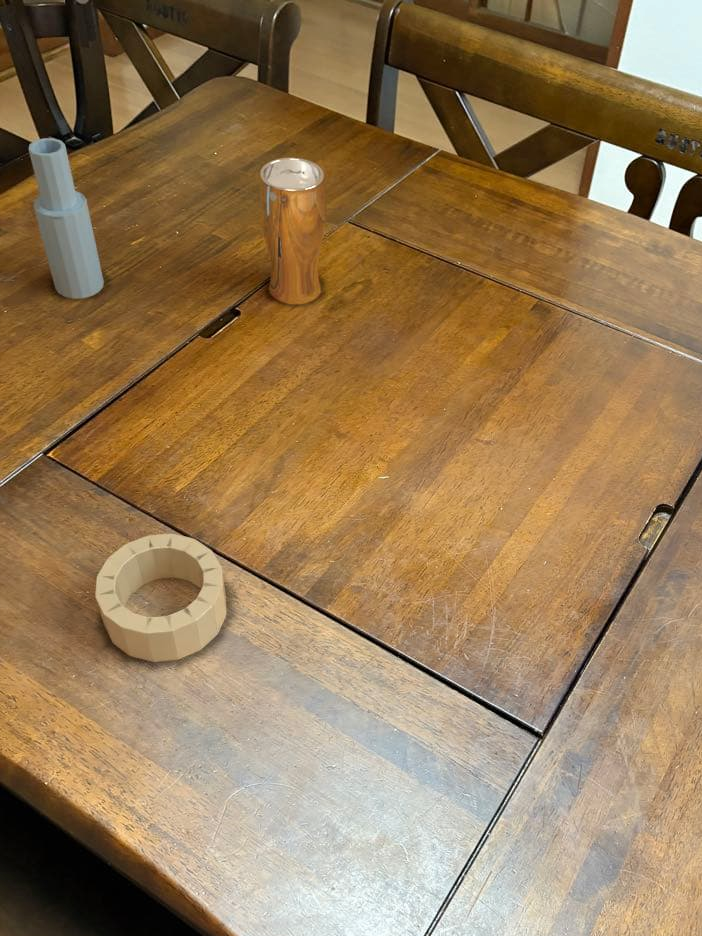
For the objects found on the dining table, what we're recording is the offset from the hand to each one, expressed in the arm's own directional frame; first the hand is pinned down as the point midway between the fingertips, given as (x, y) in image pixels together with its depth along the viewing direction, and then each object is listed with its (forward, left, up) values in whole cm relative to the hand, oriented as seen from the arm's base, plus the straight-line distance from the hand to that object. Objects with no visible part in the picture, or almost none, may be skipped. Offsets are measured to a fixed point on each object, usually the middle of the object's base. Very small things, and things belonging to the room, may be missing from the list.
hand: (36, 44), depth 81 cm
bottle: (-2, +2, -28) cm, 28 cm away
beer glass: (+22, 0, -28) cm, 36 cm away
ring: (+8, -44, -28) cm, 52 cm away
